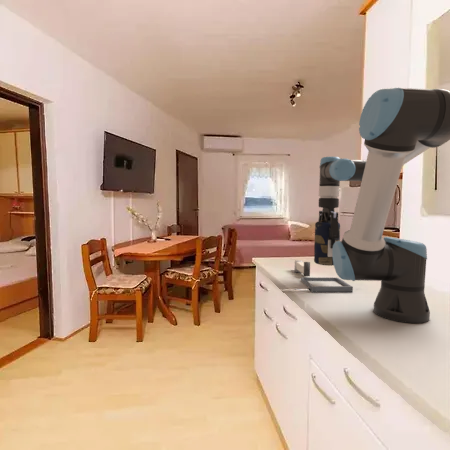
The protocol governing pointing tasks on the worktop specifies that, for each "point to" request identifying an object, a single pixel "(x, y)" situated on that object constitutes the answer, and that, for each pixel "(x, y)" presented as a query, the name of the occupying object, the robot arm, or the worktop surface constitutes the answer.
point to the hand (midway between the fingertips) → (326, 254)
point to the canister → (323, 243)
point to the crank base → (295, 272)
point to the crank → (302, 267)
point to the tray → (328, 289)
